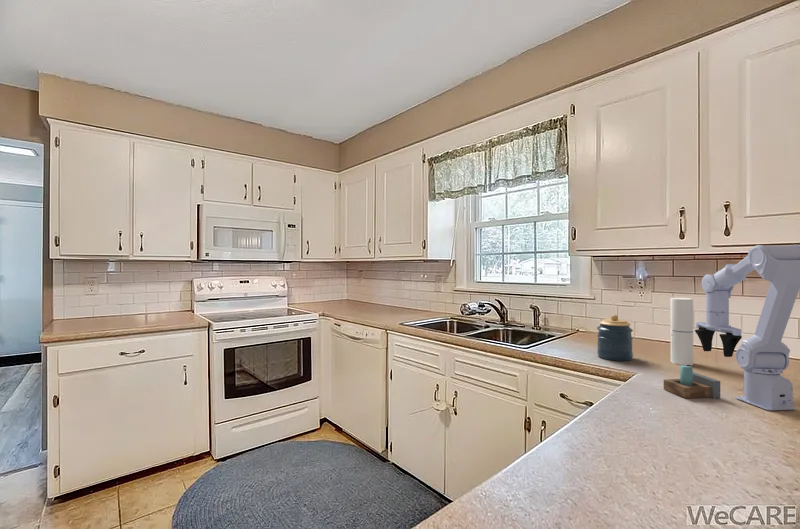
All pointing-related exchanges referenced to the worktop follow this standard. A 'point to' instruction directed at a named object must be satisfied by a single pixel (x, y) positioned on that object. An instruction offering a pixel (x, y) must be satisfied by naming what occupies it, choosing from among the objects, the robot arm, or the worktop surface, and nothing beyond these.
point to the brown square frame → (687, 389)
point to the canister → (614, 339)
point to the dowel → (686, 375)
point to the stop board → (708, 384)
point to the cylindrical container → (681, 330)
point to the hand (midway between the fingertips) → (717, 353)
